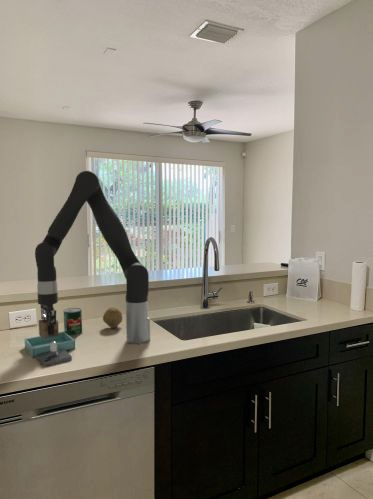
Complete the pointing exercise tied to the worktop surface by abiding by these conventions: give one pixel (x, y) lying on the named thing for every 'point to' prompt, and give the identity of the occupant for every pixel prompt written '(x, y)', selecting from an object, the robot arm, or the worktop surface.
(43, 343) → the teal tray
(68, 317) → the canned tomato
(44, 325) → the hollow wooden cube
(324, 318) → the worktop surface
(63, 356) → the gauge pin stand
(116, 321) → the natural sponge
